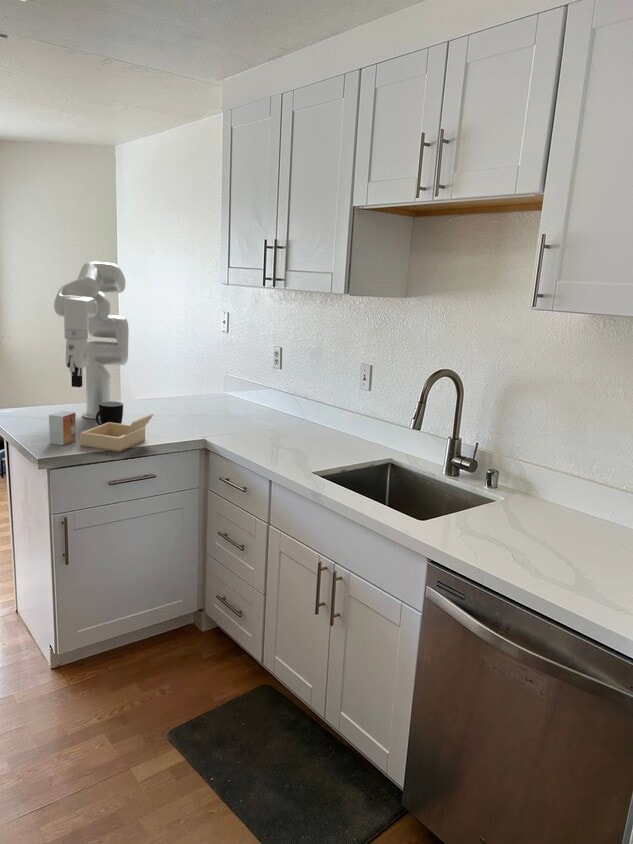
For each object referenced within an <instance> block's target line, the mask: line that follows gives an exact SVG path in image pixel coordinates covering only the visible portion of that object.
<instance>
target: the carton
mask: <svg viewBox="0 0 633 844" xmlns="http://www.w3.org/2000/svg"><path fill="white" fill-rule="evenodd" d="M130 425H131V424H125V423H121V424H119V423H112V422H108V423H105V424H102V425H98V426H95V427H92V428H90V429H86V430H84V431H82V432H80V436H79V437H80V447H81V448H88V449H94V450H102V451H109V452H115V453H116V452H117V453H121V452H124V451H126V450H128V449H129V448H131V447H134V446H136V445H138V444H140V443H142V442H144V441H145V440H146V426H145V427H144V428H141V429H139V430H137V431H134V432H132V433H130V434H128V435H124V434H125V432H126V431H127V430H128V428H129V427H130Z"/></svg>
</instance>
